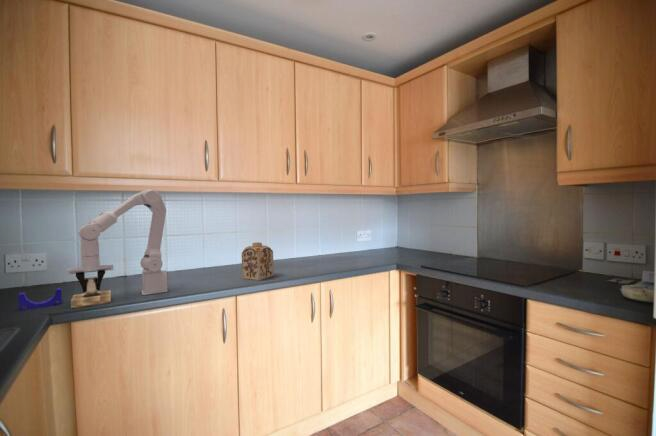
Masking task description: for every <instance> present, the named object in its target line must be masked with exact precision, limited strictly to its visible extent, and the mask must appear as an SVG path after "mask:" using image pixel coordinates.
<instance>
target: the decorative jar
mask: <svg viewBox="0 0 656 436" xmlns="http://www.w3.org/2000/svg"><path fill="white" fill-rule="evenodd" d="M274 268H275V267H274V251H273V249H271V247H270V246H268V245H263V243H262V242H259V241H258V242H255V241H254V242H252V245H249V246H246V247H245V248H244V249H243V250H242V252H241V277H242V279H244V280H249V279H250V281H252V280H253V281H263V280H265V279H268V278H273V277H274V275H275V274H274V271H275V270H274Z"/></svg>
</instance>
